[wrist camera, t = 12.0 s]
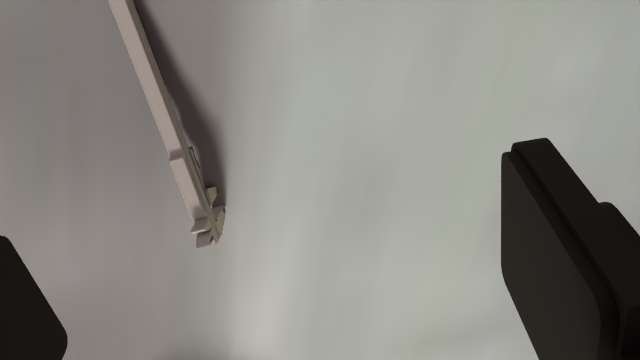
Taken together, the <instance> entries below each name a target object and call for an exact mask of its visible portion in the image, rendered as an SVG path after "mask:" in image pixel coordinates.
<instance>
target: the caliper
mask: <svg viewBox="0 0 640 360" xmlns="http://www.w3.org/2000/svg"><path fill="white" fill-rule="evenodd" d="M108 1H109V4H110V6H111V9H112V12H113V14H114V17H115V19H116V22H117V24H118V27H119V29H120V32H121V34H122V37H123V40H124V42H125V45H126V47H127V50H128V52H129V55H130V57H131V60H132V62H133V65H134V68H135V70H136V73H137V75H138V78H139V80H140V83H141V85H142V88H143V90H144V93H145V95H146V98H147V101H148V103H149V106H150V108H151V111H152V113H153V116H154V118H155V121H156V123H157V126H158V128H159V131H160V134H161V136H162V139H163V141H164V144H165V146H166V149H167V151H168V154H169V156H170V159H169V163H170V165H171V168H172V170H173V173H174V176H175V178H176V181H177V183H178V186H179V188H180V191H181V194H182V196H183V199H184V201H185V204H186V206H187V209H188V212H189V214H190V217H191V219H194V220H195V222H194V223H195V225H194V226H193V228H192V229H191V233H194V234H195V233H198V234H197V240H196V246H197V248H199V247H208V246H212V245H216V244H217V242H218V240H219V238H220V236H221V234H222V230H223V225H224V219H225V213H226V212H225V207H224V205H221V206H217V207H213V208H212V209H211V204H212V203H213V202H214V200H215V198H216V196H217V193H218V190H217V188H216V186H215V187H211V188H207V189H206V188H205V186H204V183H203V178H202V175H201V171H200V167H199V164H198V162H197V160H196V158H195V154H194V151H193V148H192V146H190V147H188V145H187V142H186V140H185V137H184V134H183V132H182V129H181V127H180V124H179V121H178V119H177V116H176V113H175V111H174V108H173V105H172V103H171V100H170V97H169V95H168V92H167V89H166V87H165V84H164V82H163V79H162V76H161V74H160V71H159V68H158V66H157V63H156V60H155V58H154V55H153V52H152V50H151V47H150V44H149V42H148V39H147V36H146V34H145V31H144V28H143V26H142V23H141V20H140V18H139V15H138V12H137V10H136V7H135V4H134V2H133V0H108Z"/></svg>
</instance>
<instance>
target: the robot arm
mask: <svg viewBox="0 0 640 360" xmlns="http://www.w3.org/2000/svg"><path fill="white" fill-rule="evenodd" d="M501 268H502V274H503V278H504V281H505V284H506V286H507V288H508V291H509V293H510V295H511V297H512V300H513V302H514V304H515V306H516V309H517V311H518V313H519V315H520V318H521V320H522V322H523V324H524V327H525V329H526V331H527V333H528V336H529V338H530V340H531V342H532V345H533V347H534V349H535V351H536V354H537V356H538V358H539V360H640V236H639V235H638V233H637V232H636V231H635V230H634V228H633V227H632V226H631V225H630V224H629V222H628V221H627V220H626V219H625V217H624V216H623V215H622V214H621V213H620V211H619V210H618V209H617V208H616V207H615V206H614V205H613V204H611V203H608V202H602V203H598V202H597V200H596V199H595V198H594V197H593V195H592V194H591V193H590V191H589V190H588V189H587V188H586V186H585V185H584V184H583V183H582V181H581V180H580V179H579V177H578V176H577V175H576V174H575V172H574V171H573V170H572V168H571V167H570V166H569V165H568V163H567V162H566V161H565V159H564V158H563V157H562V156H561V154H560V153H559V152H558V150H557V149H556V148H555V147H554V145H553V144H552V143H551V141H550V140H549V139H547V138H540V139H534V140H528V141H522V142H516V143H514V144H513V145H512V148H511V152H505V153H503V154H502V160H501ZM66 348H67V334H66V331H65V329H64V328H63V326H62V324H61V323H60V321H59V319H58V318H57V316H56V315H55V313H54V311H53V310H52V308H51V306H50V305H49V303H48V302H47V300H46V298H45V297H44V295H43V294H42V292H41V290H40V289H39V287H38V285H37V284H36V282H35V281H34V279H33V277H32V276H31V274H30V272H29V271H28V269H27V268H26V266H25V264H24V263H23V261H22V260H21V258H20V256H19V255H18V253H17V251H16V250H15V248H14V247H13V245H12V243H11V242H10V241H9V239H8V238H6V237H5V236H0V360H62V358H63V356H64V354H65V351H66Z"/></svg>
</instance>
